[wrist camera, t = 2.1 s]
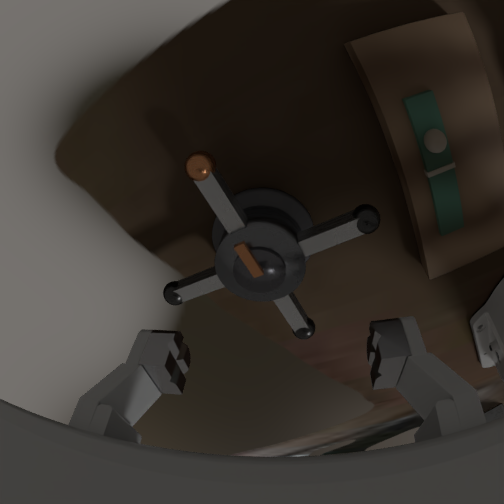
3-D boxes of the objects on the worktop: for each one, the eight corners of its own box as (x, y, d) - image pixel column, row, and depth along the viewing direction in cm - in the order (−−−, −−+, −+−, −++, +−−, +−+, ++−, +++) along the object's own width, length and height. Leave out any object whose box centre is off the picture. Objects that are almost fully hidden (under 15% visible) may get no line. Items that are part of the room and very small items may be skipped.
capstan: (397, 282, 28) (410, 317, 25) (226, 338, 35) (219, 372, 31) (320, 84, 19) (330, 89, 15) (113, 198, 26) (87, 225, 22)
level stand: (498, 230, 25) (518, 254, 22) (421, 264, 28) (435, 292, 25) (448, 14, 15) (475, 10, 11) (343, 44, 18) (356, 40, 15)
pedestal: (328, 253, 29) (329, 260, 28) (244, 284, 32) (243, 291, 31) (287, 170, 25) (287, 174, 24) (195, 214, 28) (192, 219, 27)
